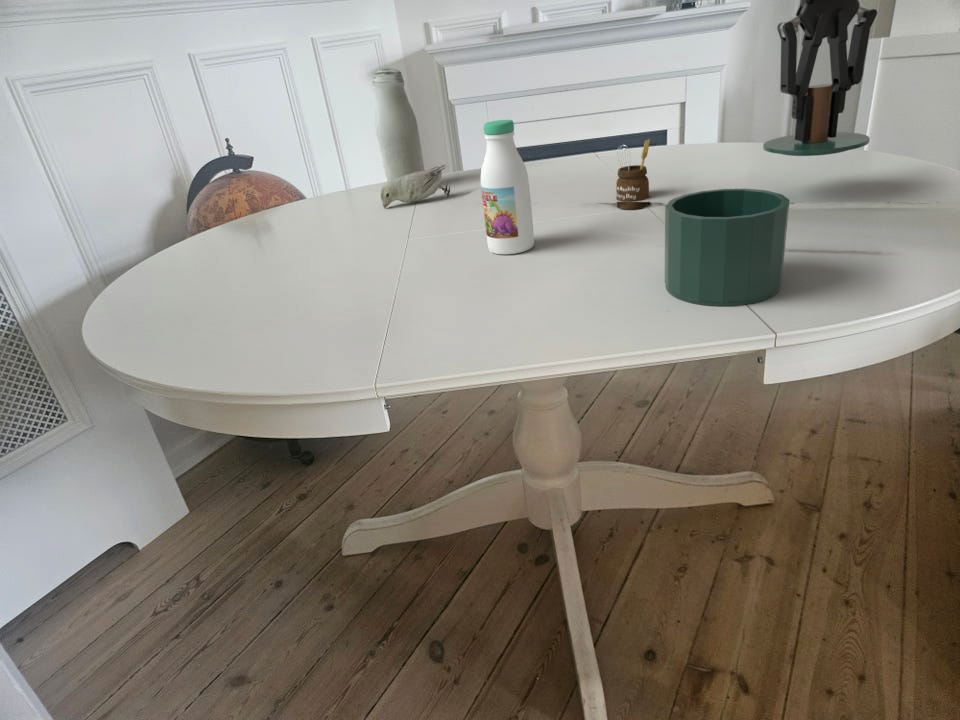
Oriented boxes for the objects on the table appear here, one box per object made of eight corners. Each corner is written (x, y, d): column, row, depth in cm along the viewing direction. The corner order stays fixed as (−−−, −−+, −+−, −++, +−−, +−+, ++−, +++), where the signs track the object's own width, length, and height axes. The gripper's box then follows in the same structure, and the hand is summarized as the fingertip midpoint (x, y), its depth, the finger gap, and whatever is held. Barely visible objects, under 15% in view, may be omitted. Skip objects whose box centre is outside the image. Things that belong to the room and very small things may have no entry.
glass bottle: (428, 183, 163) (410, 64, 150) (425, 191, 154) (404, 66, 141) (391, 187, 164) (369, 70, 151) (385, 196, 155) (361, 72, 142)
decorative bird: (381, 206, 146) (375, 173, 142) (449, 194, 148) (444, 161, 145) (384, 211, 141) (378, 177, 137) (454, 198, 144) (449, 165, 140)
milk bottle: (514, 238, 109) (502, 116, 100) (544, 245, 104) (533, 117, 95) (479, 250, 106) (463, 125, 97) (507, 258, 100) (493, 126, 91)
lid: (868, 137, 101) (877, 75, 97) (868, 156, 90) (877, 86, 86) (768, 142, 108) (772, 85, 104) (756, 160, 97) (760, 97, 93)
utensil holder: (627, 201, 122) (625, 136, 117) (656, 203, 118) (656, 136, 113) (610, 209, 118) (608, 142, 113) (640, 211, 114) (639, 143, 109)
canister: (785, 269, 82) (794, 187, 77) (773, 310, 71) (782, 219, 67) (678, 264, 88) (680, 189, 83) (653, 301, 78) (653, 218, 73)
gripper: (876, -42, 91) (855, 127, 102) (760, -24, 92) (751, 142, 102) (909, -49, 85) (883, 133, 95) (784, -30, 85) (772, 149, 96)
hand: (815, 138), depth 99 cm, fingers closed on lid, 4 cm apart
